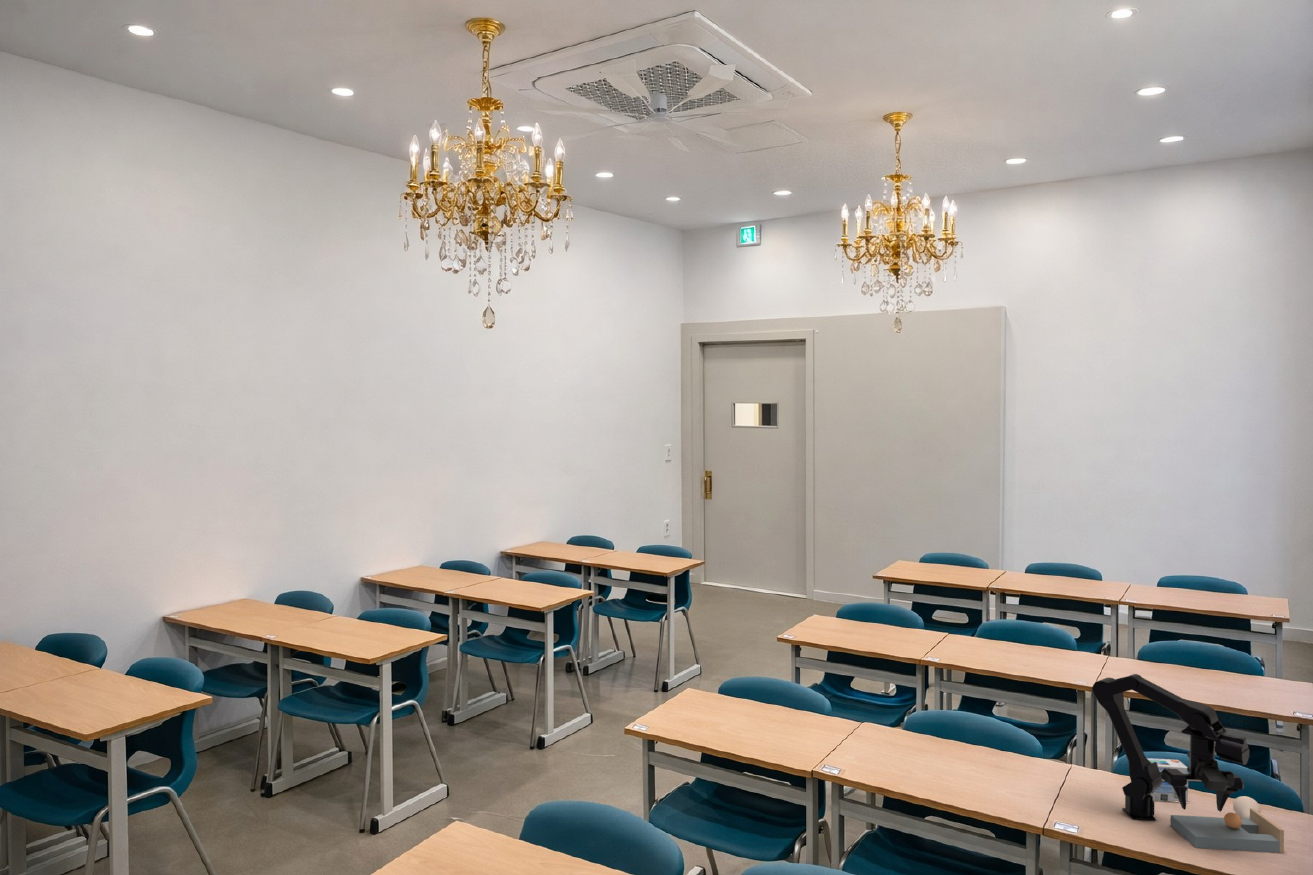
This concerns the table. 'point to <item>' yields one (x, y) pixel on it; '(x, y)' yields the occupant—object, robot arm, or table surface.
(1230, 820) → the ball
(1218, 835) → the notched base with backboard
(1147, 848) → the table surface
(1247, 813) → the light bulb
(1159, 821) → the table surface
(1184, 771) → the light bulb box
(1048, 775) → the table surface
